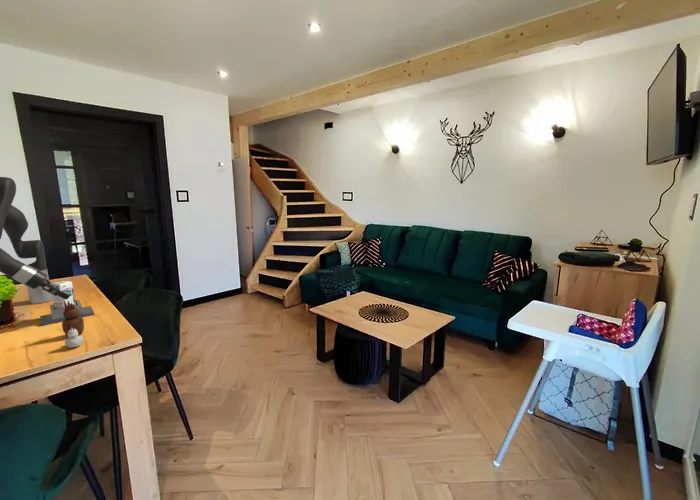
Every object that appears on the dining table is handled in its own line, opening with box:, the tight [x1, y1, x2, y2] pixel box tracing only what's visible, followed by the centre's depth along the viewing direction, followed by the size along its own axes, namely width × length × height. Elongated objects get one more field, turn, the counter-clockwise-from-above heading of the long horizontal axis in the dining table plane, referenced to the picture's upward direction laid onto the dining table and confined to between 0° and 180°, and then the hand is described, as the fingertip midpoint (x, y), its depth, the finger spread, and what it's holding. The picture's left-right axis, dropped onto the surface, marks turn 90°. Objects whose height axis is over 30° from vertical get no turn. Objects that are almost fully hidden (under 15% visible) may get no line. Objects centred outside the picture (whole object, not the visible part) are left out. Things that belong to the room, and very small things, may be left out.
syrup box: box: [52, 280, 76, 309], centre depth 158 cm, size 6×6×14 cm
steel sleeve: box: [39, 299, 95, 327], centre depth 159 cm, size 13×19×6 cm
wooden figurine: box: [61, 301, 85, 337], centre depth 137 cm, size 7×6×15 cm
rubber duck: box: [64, 327, 84, 349], centre depth 128 cm, size 5×7×8 cm
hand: (67, 295), depth 159 cm, fingers closed on syrup box, 7 cm apart
